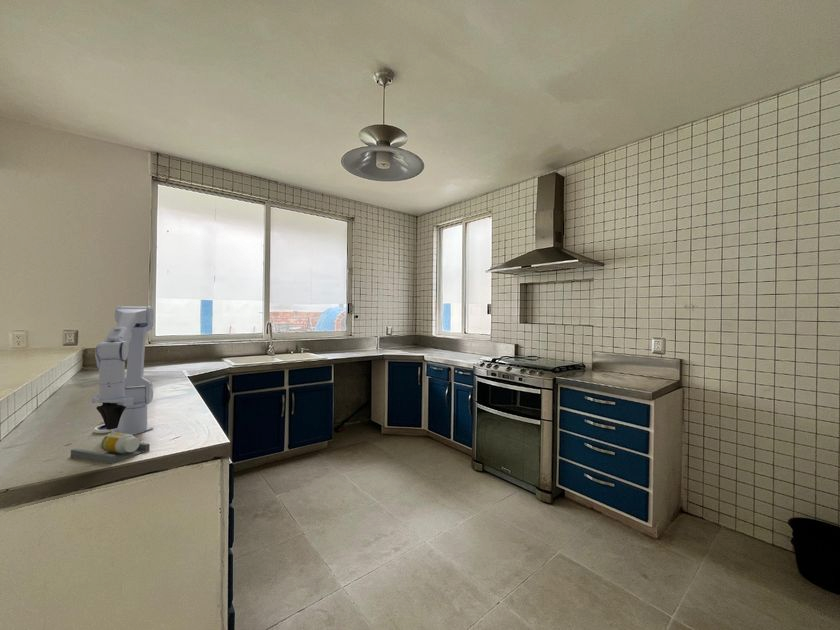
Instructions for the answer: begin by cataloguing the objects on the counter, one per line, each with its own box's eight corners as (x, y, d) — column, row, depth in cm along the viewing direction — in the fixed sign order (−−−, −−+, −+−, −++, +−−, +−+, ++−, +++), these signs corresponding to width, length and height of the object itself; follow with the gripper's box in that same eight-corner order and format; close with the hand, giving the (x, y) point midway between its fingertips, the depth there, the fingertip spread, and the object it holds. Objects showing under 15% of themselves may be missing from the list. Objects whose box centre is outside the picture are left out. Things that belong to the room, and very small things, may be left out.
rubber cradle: (70, 456, 100) (70, 449, 100) (110, 444, 110) (110, 438, 110) (111, 464, 95) (111, 456, 95) (149, 450, 105) (149, 443, 105)
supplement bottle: (115, 428, 106) (137, 431, 103) (123, 442, 108) (145, 445, 105) (96, 441, 101) (119, 444, 98) (104, 455, 103) (127, 459, 100)
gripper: (78, 383, 101) (78, 430, 101) (113, 386, 97) (113, 435, 97) (107, 379, 108) (107, 423, 108) (140, 381, 103) (140, 427, 103)
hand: (112, 428), depth 103 cm, fingers closed
